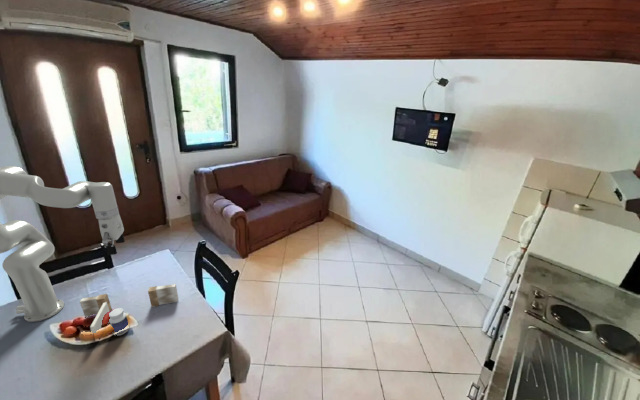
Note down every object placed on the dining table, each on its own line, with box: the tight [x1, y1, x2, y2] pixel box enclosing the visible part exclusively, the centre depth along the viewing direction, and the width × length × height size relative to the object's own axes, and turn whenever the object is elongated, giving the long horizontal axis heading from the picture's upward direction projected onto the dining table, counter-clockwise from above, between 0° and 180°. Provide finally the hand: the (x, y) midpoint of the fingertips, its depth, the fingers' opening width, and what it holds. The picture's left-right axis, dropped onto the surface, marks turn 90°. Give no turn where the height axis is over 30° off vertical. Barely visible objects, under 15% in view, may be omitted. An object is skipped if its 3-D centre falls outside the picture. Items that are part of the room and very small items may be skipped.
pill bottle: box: [108, 307, 130, 336], centre depth 109 cm, size 6×6×10 cm
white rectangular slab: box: [89, 302, 109, 334], centre depth 109 cm, size 14×2×8 cm, turn 20°
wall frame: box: [79, 283, 179, 318], centre depth 121 cm, size 36×3×9 cm, turn 109°
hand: (116, 248), depth 114 cm, fingers open, 9 cm apart
